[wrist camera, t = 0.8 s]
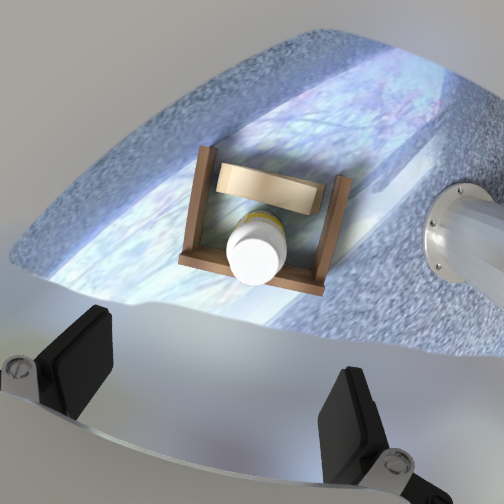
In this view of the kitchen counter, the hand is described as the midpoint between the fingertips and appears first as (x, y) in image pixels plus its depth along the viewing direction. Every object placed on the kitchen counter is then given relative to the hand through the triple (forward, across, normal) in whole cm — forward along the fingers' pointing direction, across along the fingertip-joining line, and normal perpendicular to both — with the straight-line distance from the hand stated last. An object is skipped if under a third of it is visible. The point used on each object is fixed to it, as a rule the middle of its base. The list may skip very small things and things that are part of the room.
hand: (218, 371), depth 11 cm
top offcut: (+22, 0, -5) cm, 22 cm away
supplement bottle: (+24, 0, 0) cm, 24 cm away
